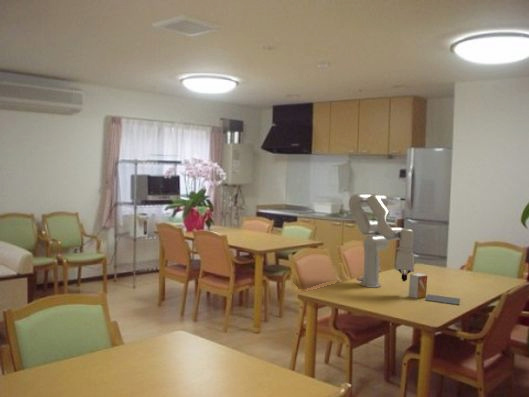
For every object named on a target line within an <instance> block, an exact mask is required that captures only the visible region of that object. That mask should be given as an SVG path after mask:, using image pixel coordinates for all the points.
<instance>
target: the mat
mask: <svg viewBox="0 0 529 397" xmlns="http://www.w3.org/2000/svg"><path fill="white" fill-rule="evenodd" d="M424 301H426V302H433V303H440V304H446V305H447V304H448V305H452V306H453V305H454V306H460V302H461V298H459V297H450V296H444V295H443V296H442V295H434V294H429V293H426V297H425V298H424Z"/></svg>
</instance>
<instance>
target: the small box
mask: <svg viewBox="0 0 529 397" xmlns="http://www.w3.org/2000/svg"><path fill="white" fill-rule="evenodd" d="M427 283H428V275H427V274H425V273H420V272H419V273H409V283H408V284H409V285H408V287H409V288H408V297H410V298H414V299H421V298H426V296H427V287H428V286H427Z"/></svg>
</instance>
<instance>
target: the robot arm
mask: <svg viewBox="0 0 529 397" xmlns="http://www.w3.org/2000/svg"><path fill="white" fill-rule="evenodd" d="M388 206H389V199H388V198H387V197H386V195H384V194H375V193H354V194H352V195H351V196H350V198H349V200H348V208H349V212H350V213H351V215H352V216H353V219H354V221H355V223H356V225H357V227H358V230H359V232H360V234H361V235H362V236H366V237H365V238H364V239H363V242H362V243H363V252H364V254H363V255H364V256H363V257H364V258H363V277H362V276H361V277H357V276H356V281H358V282H360V286H363V287H366V288H367V287H368V288H380V287H381V286H382V284H381V283H380V281H379V278H380V260H381V258H380V254H379V251H384V250H386V249H388V248H389V246H390V241H398V240H399V242H398V243H399V246H397V247H396V250H398V251H397V253H396V257H395V258H396V259H395V271H398V272H399V273H400V274H401V280H402V281H401V282H406V281H407V280H408V275H409V274H411V273H414V272H415V254H414V252H413V251H414V250H413V247H414V246H413V245H414V230H413V229H411V228H410V229H409V228H404V227H400V226H397V227H396V226H394V227H392V226H390V225H389V223H388V222H387V219H388V218H389V217H390V214H391V213H390V212H391V211H390V210H389V209H388ZM362 207H363V208H362ZM365 207H367V208H370V210H371V212H372V213H373V215H374V216H375V217H376V219H377V220H375V219H373V220H372V219H370V217H369V215H368V214H367V212H366V210H364V208H365Z"/></svg>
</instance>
